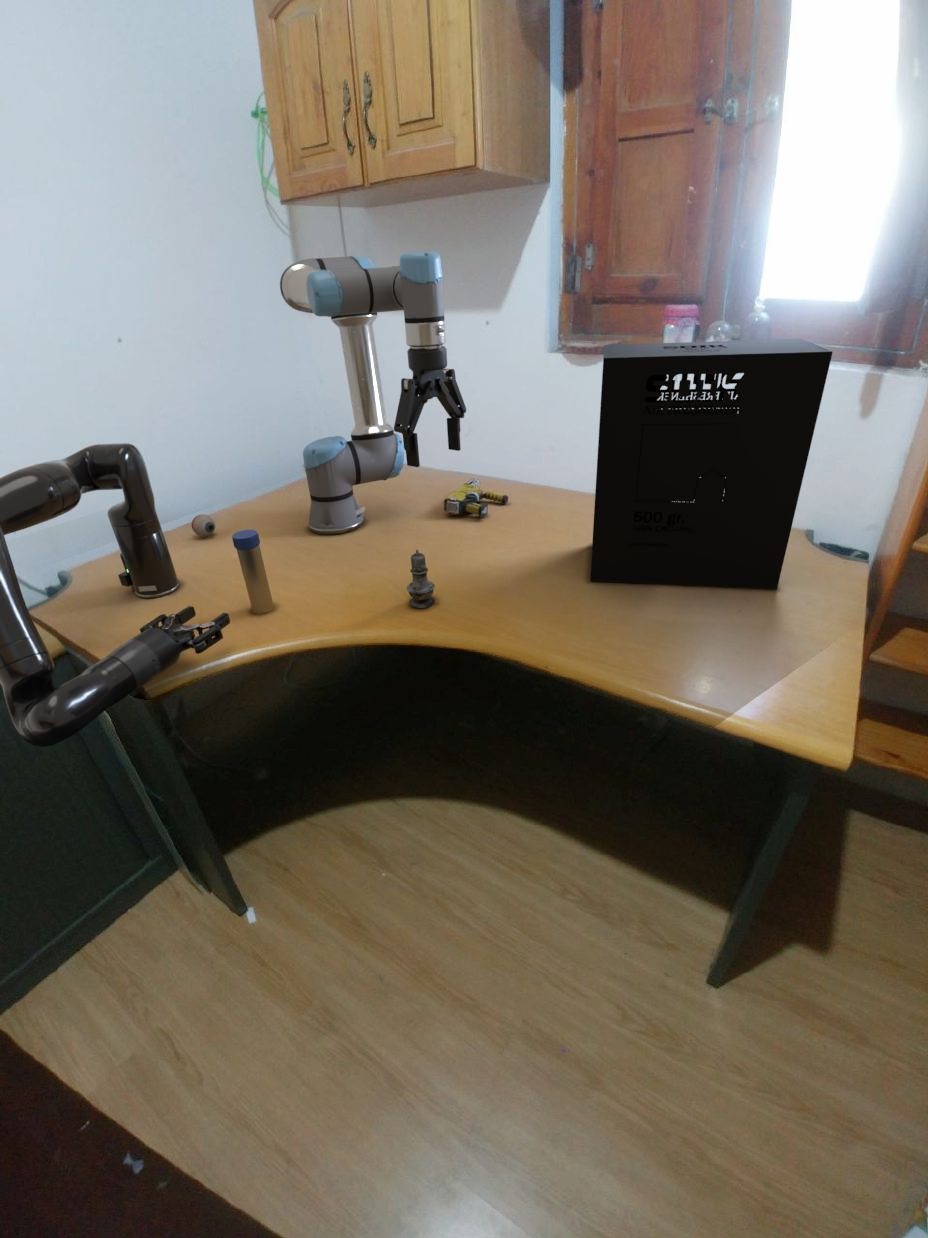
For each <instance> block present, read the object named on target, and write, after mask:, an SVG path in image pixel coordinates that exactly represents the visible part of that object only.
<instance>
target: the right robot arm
mask: <svg viewBox="0 0 928 1238" xmlns="http://www.w3.org/2000/svg"><path fill="white" fill-rule="evenodd" d="M442 270H443V268H442V259H441V256H440V254H439V253H438V252H436V251H418V252H405V253H404V252H403V253H402V254H401V255H400V256H399V265H397V266H395V265H394V266H385V267H384V266H383V267H376V265H374V263H373V261H372V260H371V259H369V258H368V257H365V256H353V255H349V256H336V257H321V258H320V257H319V258H314V257H313V258H305V259H301V260H298V261H296V262H294V263H292V264H290V265H289V266H287V267H286V268H285V269H284V271H283V272H282V273H281V276H280V280H279V291H280V294H281V296H282V298H283V300H284V302H285V303H286V305H288V306H289V307H290V308H292V309H293V310H296V311H297V312H301V313H308V314H313V315H314V316H317V317H327V318H330V320H331V322H332V323H333V324H334V325H335V326H336V327H337V328H338V331H339V337H340V343H341V349H342V355H343V361H344V366H345V367H344V369H345V373H346V379H347V385H348V391H349V397H350V404H351V409H352V417H353V423H354V427H353V428H352V430H351V431H350V438H351V440H349V441H347V440H346V438H345V437H343V436H341V435H334V436H327V437H323V438H319V439H317V440H314V441H312V442H310V443H308V444H307V445H305V447H304V448H303V450H302V457H303V459H302V460H303V467H304V471H305V476H306V481H307V486H308V492H309V498H310V507H309V513H308V523H307V524H308V528H309V529H308V530H310V531H311V532H312V533H314V534H317V535H323V536H324V535H325V536H327V535H329V536H331V535H339V534H340V535H341V534H345V533H350V532H353V531H355V530H357V529H359V528H361V527H362V526H363V525H364V523H365V519H364V514H363V513H365V511H366V508H365V506H362V507H361V508H360V505H359V504H358V501H357V500H356V498H355V495H354V489H353V486H356V485H357V486H358V485H362V484H368V483H373V482H378V481H379V482H380V481H387V480H389V479H393V478H397V477H399V475H401V473H402V471H403V469H404V463H405V459H406V465H407V467H414V468H420V467H421V464H420V453H419V441H418V433H417V432H415V430H416V427H417V424H418V422H419V419H420V417H421V414H422V412H423V409H424V406H425V404H427V403H428V402H429V400H432V399H433V398H436V399H437V400H438V401H439V403H440V405H441V406H442V407H443V409H444V410H445V412H446V414H447V415H448V416H449V417H447V418H446V431H447V445H448V446H447V447H448V450H450V451H457V452H459V451H461V450H462V449H461V419H464V418H465V414H466V413H467V406H466V404H465V402H464V399H463V396H462V393H461V390H460V387H459V384H458V382H457V379H456V371H455V369H454V368H447V366H448V353H447V352H448V351H447V348H446V346H444V345H445V344H446V342H447V340H446V339H447V337H446V324H445V319H446V318H445V302H444V282H443V281H444V273H443V271H442ZM397 311H403V317H404V331H405V332H404V333H405V344H406V346H407V347H409V348H408V350H406V353H407V362H408V363H407V364H408V369H409V370H410V371H411V372H412V377H411V378H408V377H407V378H404V377H403V378H401V379H400V395H399V399H398V404H397V409H396V415H395V421H394V424H393V426H392V425H390V424H389V423H388V422H387V421H388V420H387V415H386V408H385V407H386V406H385V401H384V393H383V387H382V380H381V373H380V366H379V359H378V353H377V352H378V351H377V345H376V344H377V343H376V337H375V331H374V323H375V322H376V320H377V318H378V313H387V312H388V313H389V312H397ZM399 434H401V435H402V437H401V436H400V435H399ZM405 456H406V458H405Z"/></svg>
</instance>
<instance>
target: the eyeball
mask: <svg viewBox="0 0 928 1238" xmlns="http://www.w3.org/2000/svg"><path fill="white" fill-rule="evenodd" d="M191 529H192V531H193V532H194V533H195V534H196V535H197V536H199V537H205V538H206V537H209V536H211V535H212V534H213V533H214V532H215V530H216V522H215V520H214V519H213V518H212V517H211V516H210V515H208V514H198V515H196V516H195V517H194V518H193V519H192V521H191Z"/></svg>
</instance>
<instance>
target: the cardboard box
mask: <svg viewBox="0 0 928 1238" xmlns="http://www.w3.org/2000/svg"><path fill="white" fill-rule="evenodd" d="M833 353H834V352H833V350H830V349H827V348H826V347H825V348H824V347H822V346H821V345H818V344H815V343H813V342H810V341H808V340H805V339H802V338H783V339H782V338H781V339H779V338H777V339H776V338H775V339H749V340H747V339H746V340H723V341H722V340H720V341H719V340H718V341H689V342H687V341H685V342H683V341H682V342H657V343H654V342H653V343H627V344H625V343H624V344H623V343H621V344H604V345H603V359H602V362H603V363H602V375H601V389H600V390H601V392H600V409H599V424H598V425H599V426H598V427H599V428H598V442H597V457H596V458H597V459H596V460H597V461H596V475H595V493H594V496H595V497H594V508H593V509H594V510H593V525H592V527H593V528H592V541H591V557H590V558H591V560H590V575H589V576H590V577H589V580H590V582H603V583H622V584H623V583H625V584H626V583H628V584H645V585H647V584H648V585H669V586H670V585H671V586H693V587H712V588H714V587H715V588H734V589H735V588H737V589H755V590H757V589H758V590H759V589H760V590H778V586H779V582H780V577H781V574H782V570H783V565H784V561H785V556H786V553H787V548H788V543H789V539H790V536H791V531H792V526H793V522H794V519H795V513H796V510H797V505H798V501H799V497H800V493H801V489H802V484H803V480H804V476H805V471H806V467H807V464H808V463H807V462H808V458H809V455H810V450H811V446H812V442H813V437H814V434H815V430H816V425H817V421H818V417H819V411H820V407H821V404H822V400H823V399H822V398H823V394H824V390H825V386H826V381H827V378H828V374H829V369H830V366H831V360H832V356H833ZM738 374H742V376H741V377H740V378H735V376H736V375H738ZM678 375H681V379H680V380H679V384H678V388H675V385H676V379H675V377H676V376H678ZM689 375H693V380H692V381H691V379H688V376H689ZM702 375H704V379H702ZM719 378H720V382H719ZM724 378H725V382H724ZM723 382H724V385H730V384H731V385H734V388H725V387H724V386H723ZM691 383H692V385H695V388H691ZM705 385H710V388H704V386H705ZM662 387H666V389H662Z"/></svg>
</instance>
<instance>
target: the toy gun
mask: <svg viewBox="0 0 928 1238" xmlns="http://www.w3.org/2000/svg"><path fill="white" fill-rule="evenodd" d="M481 481H482V480H481V479H478V478H477V479H475V478H471V479H469V480H468V481H467V482H465V483H464V484H462V485H461V486H460V487H458V488H457V489H456V490H455V491H453V492H452V493H451V494H450V495H448V496H447V497H446V498H445V499H444V500H443V511H444V512H445V513H447V514H448V515H452V516H455V515H459V516H460V515H464V514H473V515H478V518H479V519H482V518H483V517H485V516H487V515H488V510H489V509H488V508H489V504H488V503H487V502H483V503H482V502H481V501H482V500H483V499H484V500H489V501H493V502H497V503H500V504H504V505H505V504H507V503H508V502H509V496H508V495H507V494H501V493H497V492H495V493H494V492H493V491H492V492H490V491H485V492H484V493H483V490H482V489H481V487H479V486H480V485H481V484H482V483H481Z"/></svg>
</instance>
